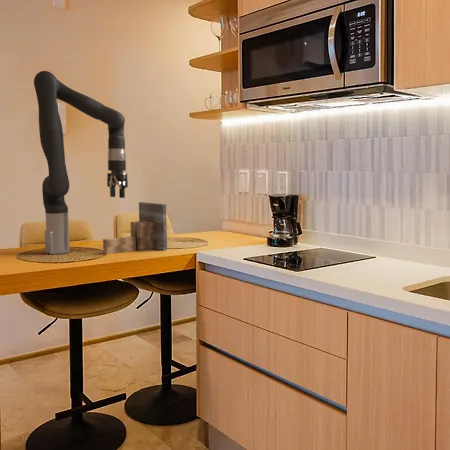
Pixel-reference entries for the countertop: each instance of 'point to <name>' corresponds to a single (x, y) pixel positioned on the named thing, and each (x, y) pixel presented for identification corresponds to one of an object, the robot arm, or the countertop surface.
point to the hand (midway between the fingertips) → (117, 197)
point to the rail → (119, 244)
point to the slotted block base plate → (150, 227)
